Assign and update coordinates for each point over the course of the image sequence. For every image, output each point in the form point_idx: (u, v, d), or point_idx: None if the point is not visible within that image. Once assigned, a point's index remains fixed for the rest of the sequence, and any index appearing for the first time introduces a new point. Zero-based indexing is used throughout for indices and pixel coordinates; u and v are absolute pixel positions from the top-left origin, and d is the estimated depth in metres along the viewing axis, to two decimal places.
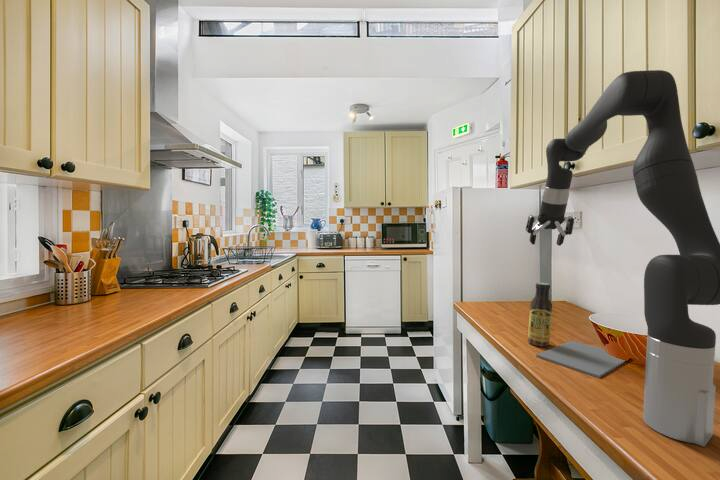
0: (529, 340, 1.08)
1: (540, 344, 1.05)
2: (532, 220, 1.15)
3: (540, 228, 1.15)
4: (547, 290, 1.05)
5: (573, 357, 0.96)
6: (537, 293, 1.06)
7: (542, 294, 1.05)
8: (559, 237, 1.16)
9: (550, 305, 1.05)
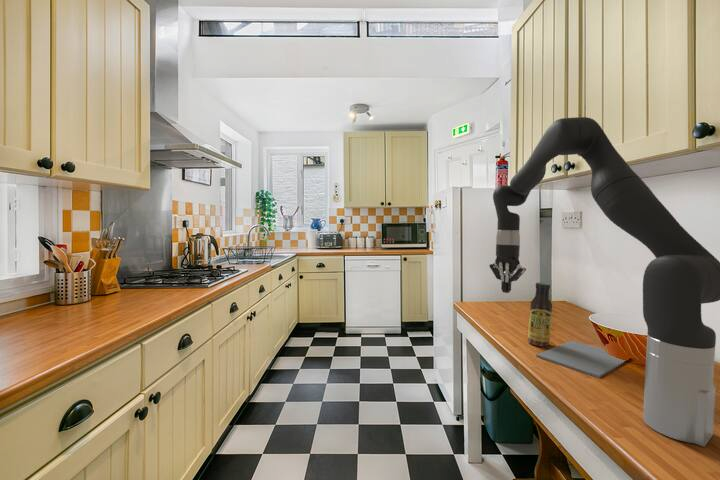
0: (529, 340, 1.08)
1: (540, 344, 1.05)
2: (491, 267, 1.20)
3: (500, 272, 1.17)
4: (547, 290, 1.05)
5: (573, 357, 0.96)
6: (538, 293, 1.06)
7: (542, 294, 1.05)
8: None
9: (550, 305, 1.05)
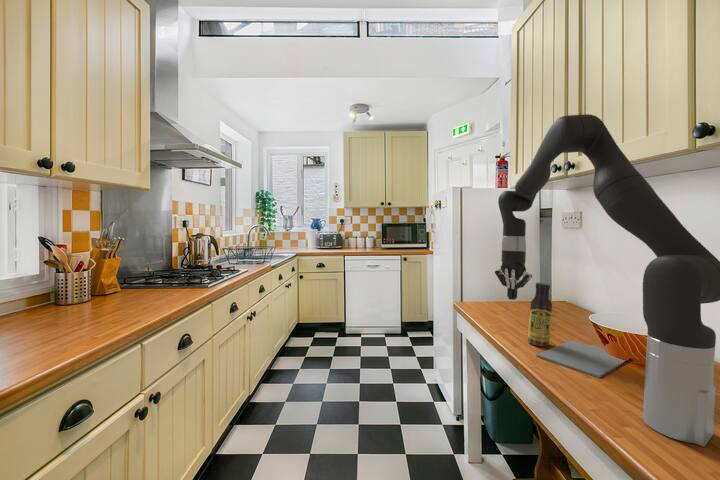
0: (529, 340, 1.08)
1: (540, 344, 1.05)
2: (497, 273, 1.18)
3: (506, 279, 1.15)
4: (547, 290, 1.05)
5: (573, 357, 0.96)
6: (537, 293, 1.06)
7: (542, 294, 1.05)
8: None
9: (550, 305, 1.05)
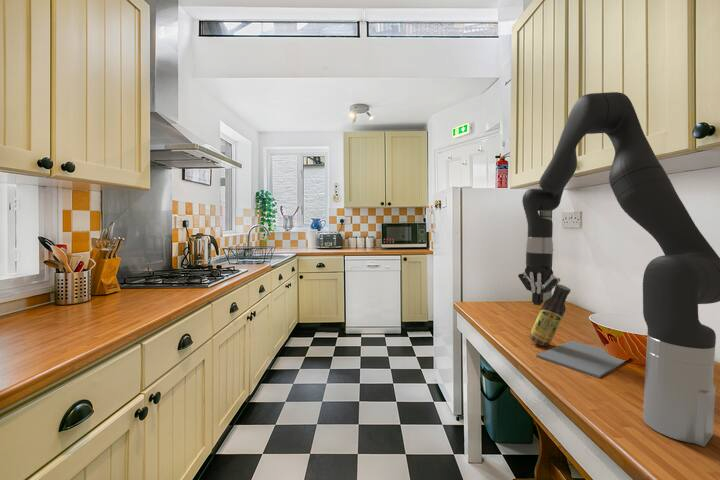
0: (531, 336, 1.07)
1: (541, 343, 1.05)
2: (521, 277, 1.11)
3: (531, 283, 1.08)
4: (566, 295, 1.01)
5: (573, 357, 0.96)
6: (555, 295, 1.02)
7: (559, 298, 1.01)
8: None
9: (564, 310, 1.02)
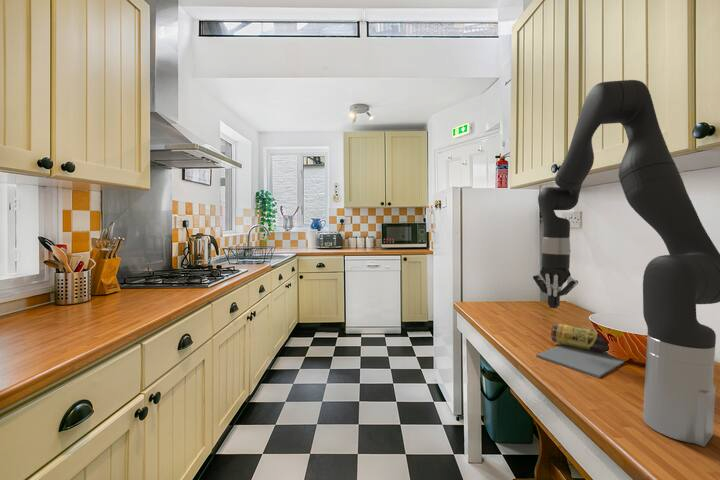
0: None
1: (554, 328, 1.06)
2: (536, 279, 1.07)
3: (547, 285, 1.03)
4: None
5: (573, 357, 0.96)
6: None
7: None
8: None
9: (601, 347, 0.98)
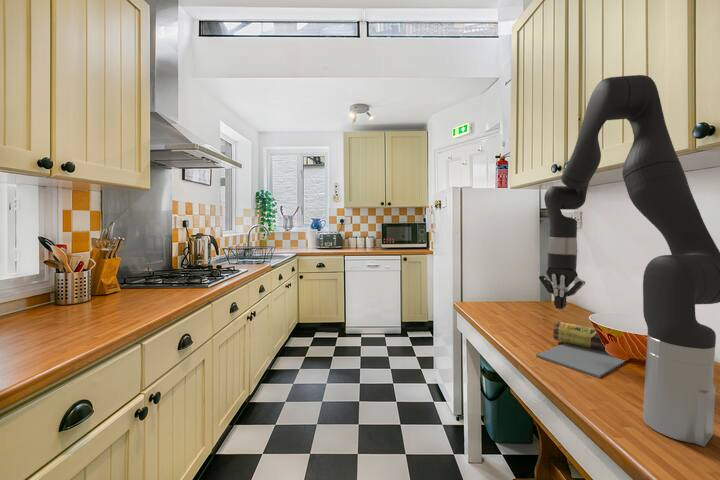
0: None
1: (557, 322, 1.09)
2: (542, 279, 1.05)
3: (554, 286, 1.02)
4: None
5: (573, 357, 0.96)
6: None
7: None
8: None
9: None
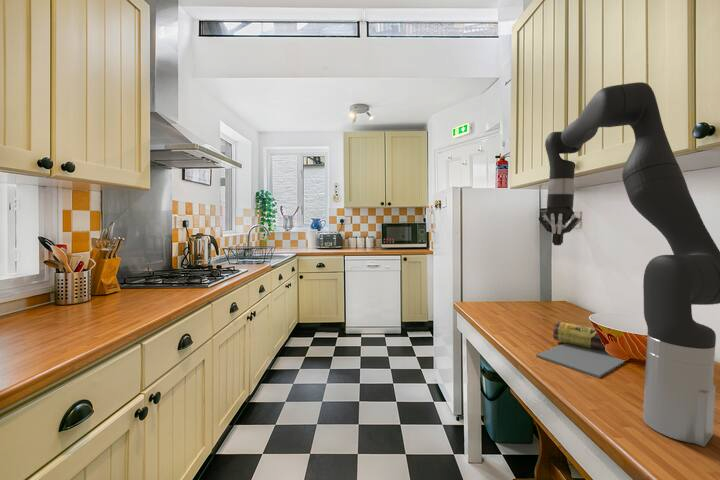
0: None
1: (557, 322, 1.09)
2: (541, 219, 1.15)
3: (552, 224, 1.12)
4: None
5: (573, 357, 0.96)
6: None
7: None
8: None
9: None
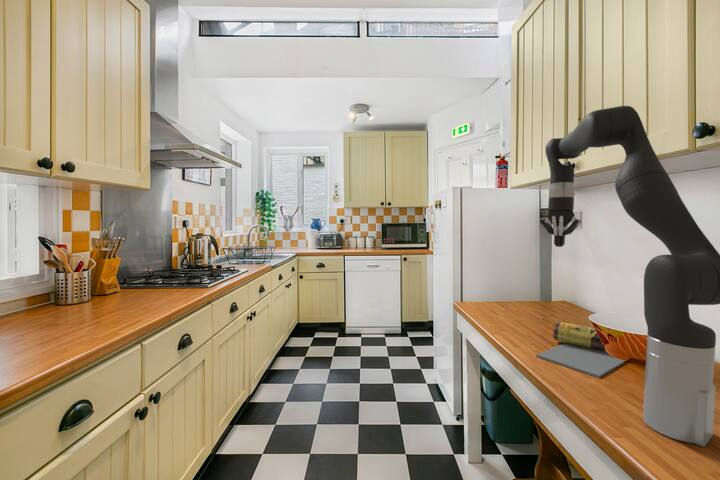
0: None
1: (557, 322, 1.09)
2: (543, 222, 1.20)
3: (554, 226, 1.16)
4: None
5: (573, 357, 0.96)
6: None
7: None
8: None
9: None
